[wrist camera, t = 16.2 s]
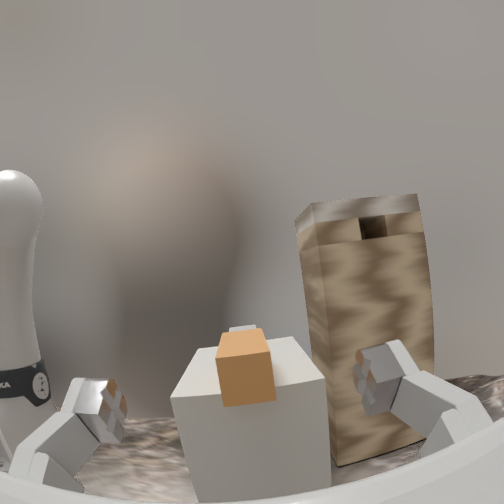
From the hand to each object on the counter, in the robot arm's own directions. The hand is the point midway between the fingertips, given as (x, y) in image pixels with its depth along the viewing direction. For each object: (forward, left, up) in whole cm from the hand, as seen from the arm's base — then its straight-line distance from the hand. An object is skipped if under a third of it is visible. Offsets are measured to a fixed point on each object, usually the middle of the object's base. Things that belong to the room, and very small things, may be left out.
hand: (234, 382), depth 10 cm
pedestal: (0, +16, -19) cm, 25 cm away
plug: (0, +14, -4) cm, 14 cm away
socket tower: (+14, +24, -19) cm, 34 cm away
